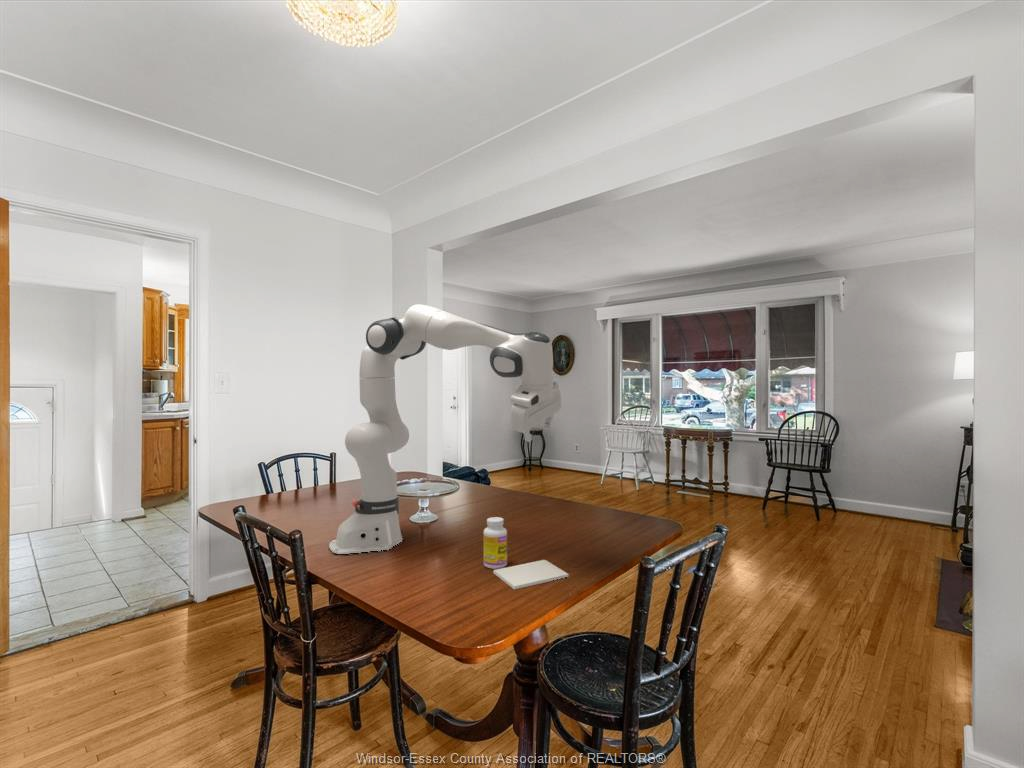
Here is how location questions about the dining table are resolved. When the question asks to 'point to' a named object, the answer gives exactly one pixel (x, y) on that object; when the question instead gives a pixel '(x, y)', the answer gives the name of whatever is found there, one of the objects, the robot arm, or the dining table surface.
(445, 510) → the dining table surface
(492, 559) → the supplement bottle
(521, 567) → the off-white mat
